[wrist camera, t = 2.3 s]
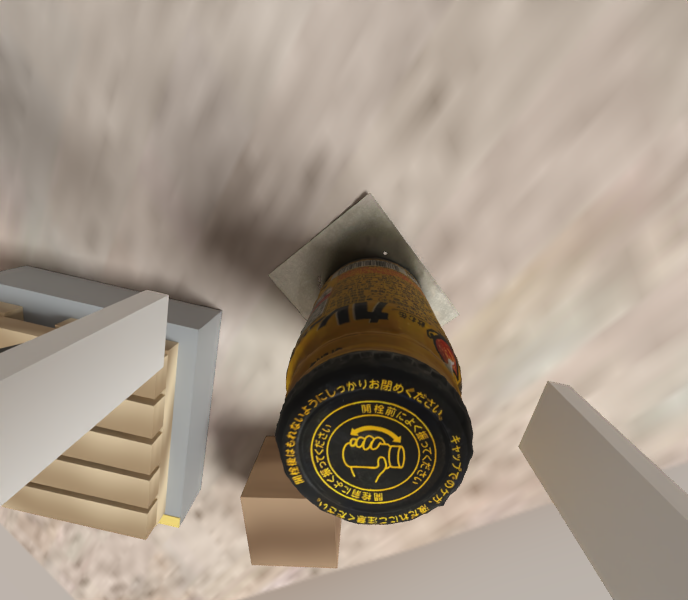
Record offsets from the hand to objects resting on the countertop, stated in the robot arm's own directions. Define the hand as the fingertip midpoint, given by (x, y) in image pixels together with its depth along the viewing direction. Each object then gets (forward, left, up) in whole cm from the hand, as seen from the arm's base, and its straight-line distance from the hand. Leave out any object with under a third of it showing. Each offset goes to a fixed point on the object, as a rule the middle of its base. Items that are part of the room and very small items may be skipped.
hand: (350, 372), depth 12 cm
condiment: (0, 0, -9) cm, 9 cm away
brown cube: (+13, -1, -9) cm, 15 cm away
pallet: (+10, -14, -6) cm, 18 cm away
